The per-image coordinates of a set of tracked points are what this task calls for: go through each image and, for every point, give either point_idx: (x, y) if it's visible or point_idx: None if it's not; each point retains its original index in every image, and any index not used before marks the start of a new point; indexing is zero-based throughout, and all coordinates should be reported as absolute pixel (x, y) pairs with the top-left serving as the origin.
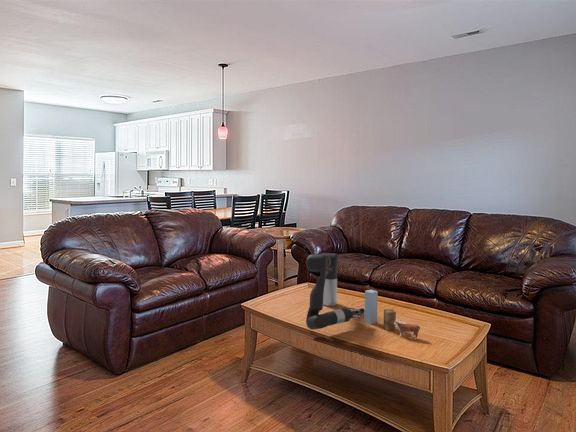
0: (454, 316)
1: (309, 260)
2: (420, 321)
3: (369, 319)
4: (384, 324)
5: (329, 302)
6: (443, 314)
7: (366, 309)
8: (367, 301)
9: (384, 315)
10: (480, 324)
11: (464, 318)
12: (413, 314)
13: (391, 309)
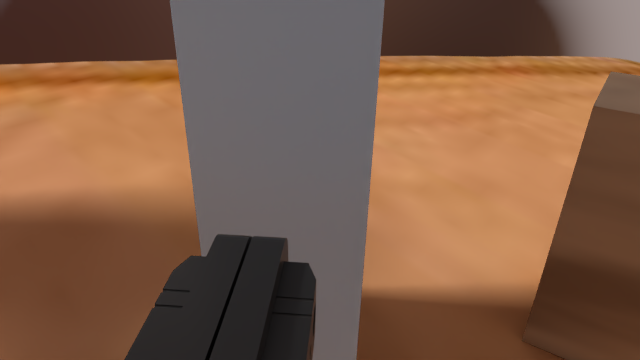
0: (497, 60)
1: None
2: (502, 127)
3: (329, 338)
4: (585, 321)
5: None
6: (455, 64)
7: (247, 205)
8: (262, 34)
9: (610, 202)
10: (623, 64)
11: (534, 58)
12: (381, 99)
13: (622, 78)
